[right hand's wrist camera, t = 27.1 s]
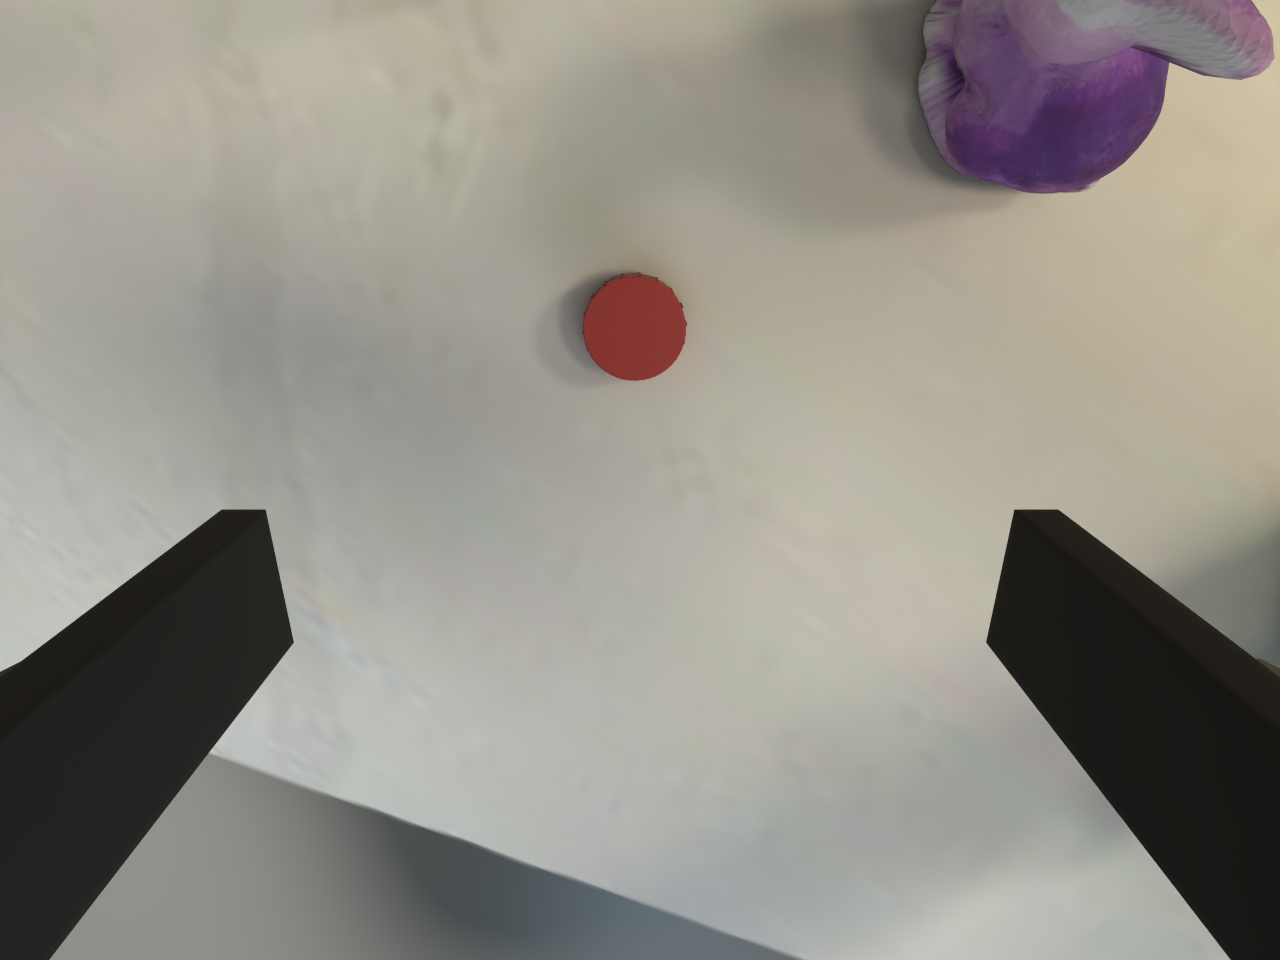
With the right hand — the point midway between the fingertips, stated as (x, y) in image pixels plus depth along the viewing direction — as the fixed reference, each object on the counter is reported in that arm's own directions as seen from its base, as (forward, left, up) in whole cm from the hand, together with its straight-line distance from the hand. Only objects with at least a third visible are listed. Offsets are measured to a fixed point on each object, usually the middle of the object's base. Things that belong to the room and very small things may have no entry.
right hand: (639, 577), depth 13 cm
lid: (0, 0, -25) cm, 25 cm away
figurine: (-18, -8, -26) cm, 33 cm away
